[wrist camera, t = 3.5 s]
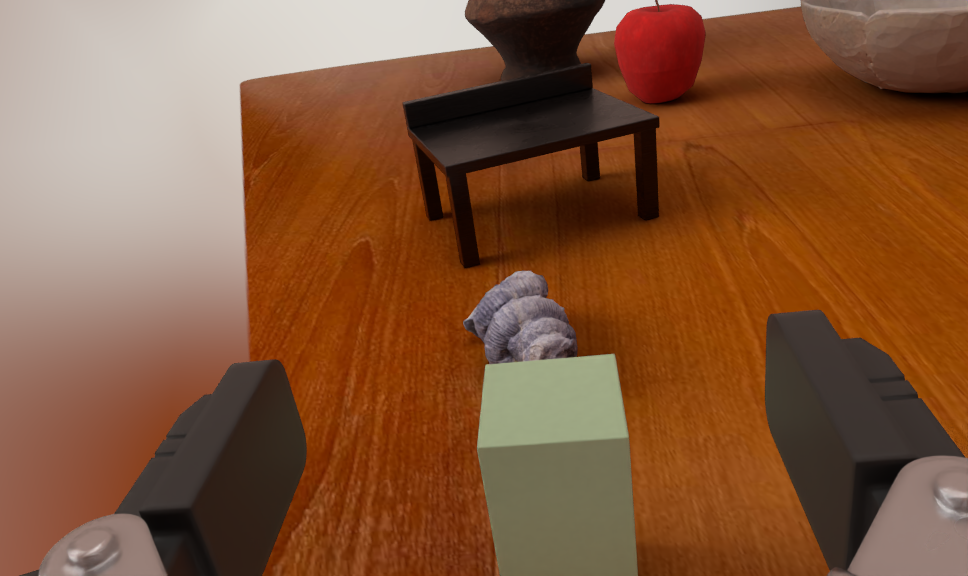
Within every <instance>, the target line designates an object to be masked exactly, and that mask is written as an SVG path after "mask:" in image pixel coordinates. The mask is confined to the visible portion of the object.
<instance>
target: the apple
mask: <svg viewBox="0 0 968 576" xmlns="http://www.w3.org/2000/svg"><path fill="white" fill-rule="evenodd" d="M655 2H656V4H657V6H651V7H643V8H639V9H635V10H632V11H630V12H628V13H627V14H626V15H625V17H624V18H623V19H622V20H621V22H620V23H619V24H618V26H617V27H616V34H615V42H614V45H615V50H616V54H617V59H618V63H619V67H620V70H621V72H622V75H623V77H624V80H625V82H626V84H627V87H628V89H629V91H630V92H631V93H633V94H634V95H635V96H636V97H638V98H639V99H640V100H641V101H643V102H644V103H661V102H666V101H670V100H674V99H677V98H679V97H680V96H681V95H682V94H684V93H685V92H686V91H687V90H688V89H690V88H691V87H692V86H693V85H694V82H695V79H696V76H697V73H698V70H699V67H700V64H701V61H702V55H703V48H704V42H705V28H704V24H703V20H702V17H701V15H699V13H698V12H696V11H695V10H694V9H693V8H692V7H690V6H685V5H674V4H673V5H672V4H669V5H659V4H658V1H657V0H655Z"/></svg>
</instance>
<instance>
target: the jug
mask: <svg viewBox="0 0 968 576" xmlns="http://www.w3.org/2000/svg"><path fill="white" fill-rule="evenodd" d="M604 2H605V0H469V1H468V4H467V7H466V10H465V17H466V19H467V20H468V22H469V23H470V24H472V25H473V26H474V27H475V28H476V29H477V30H478V31H479V32H480V33H481V34H483V35H484V36H485V37H486V39H488V40H489V42H490V43H491V44H492V45H493V46H494V47H495V48H496V49H497V51H498V52H499V53H500V55H501V56H502V58H503V60H504V62H505V65H506V68H505V69H504V70H503V73H502V76H501V81H505V80H509V79H514V78H519V77H523V76H528V75H533V74H537V73H542V72H547V71H551V70H556V69H561V68H565V67H570V66H575V65H579V64H581V62H580V60H579V58H578V56H577V53H576V52H577V48H578V45H579V43H580V41H581V39H582V37H583V36H584V34H585V32H586V31H587V29H588V28H589V26H590V24H591V22H592V21H593V19H594V17H595V15H596V14H597V13H598V12H599V10H600V9H601V8H602V6H603V4H604Z"/></svg>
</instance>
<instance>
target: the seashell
mask: <svg viewBox="0 0 968 576" xmlns="http://www.w3.org/2000/svg"><path fill="white" fill-rule="evenodd" d="M547 294H548V287H547V283H546V281H545V279H544V277H543V276H541V275H536V274H534V273H533V272H532V271H517V272H515V273H514V274H512V275H511V276H509V277H508V278H506V279H505V280H504V281H503V282H501V283H500V285H495V286H494V287H493V288H492V289H491V290H490V291H488V292H486V293H485V296H484V297H483V298H482V300H481V301H480V303H479V304H478V305H477V308H475V309H474V311H473V312H472V314H471V315H470V316H469V318H468V319H466V320H465V321H463V324H464V327H465V328H466V330H468V331H470V332H472V333H473V334H475V335H476V336H477V337H479V338H481V340H482V341H483V342H484V344H485V354H486V357H487V359H488V361H489V364H500V363H512V362H523V361H535V360H547V359H559V358H571V357H576V356H577V341H576V334H575V331H574V329H573V328H572V327H571V326H570V325H569V322H568V319H567V316H566V314H565V312H564V308H563V307H560V306H559V305H558V304H557V303H555V302H554V301H553V300H551V299H547V298H546V297H547Z"/></svg>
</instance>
